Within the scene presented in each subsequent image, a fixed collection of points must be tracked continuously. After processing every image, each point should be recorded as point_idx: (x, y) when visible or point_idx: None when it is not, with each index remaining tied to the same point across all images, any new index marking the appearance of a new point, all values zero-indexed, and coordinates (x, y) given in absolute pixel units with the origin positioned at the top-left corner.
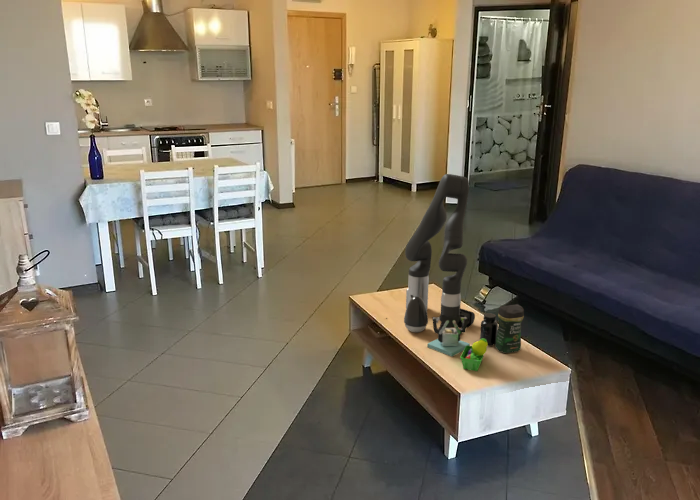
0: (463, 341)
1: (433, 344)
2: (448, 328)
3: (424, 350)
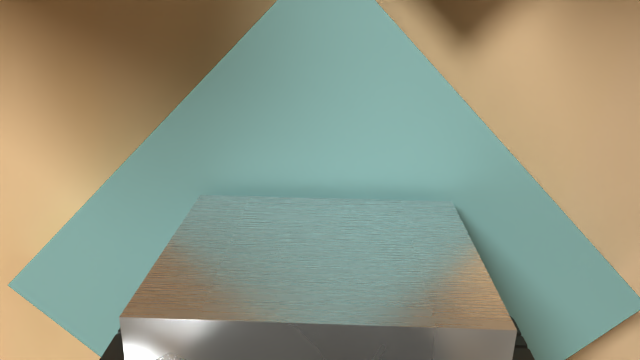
0: (577, 232)
1: (95, 311)
2: (320, 343)
3: (6, 338)
